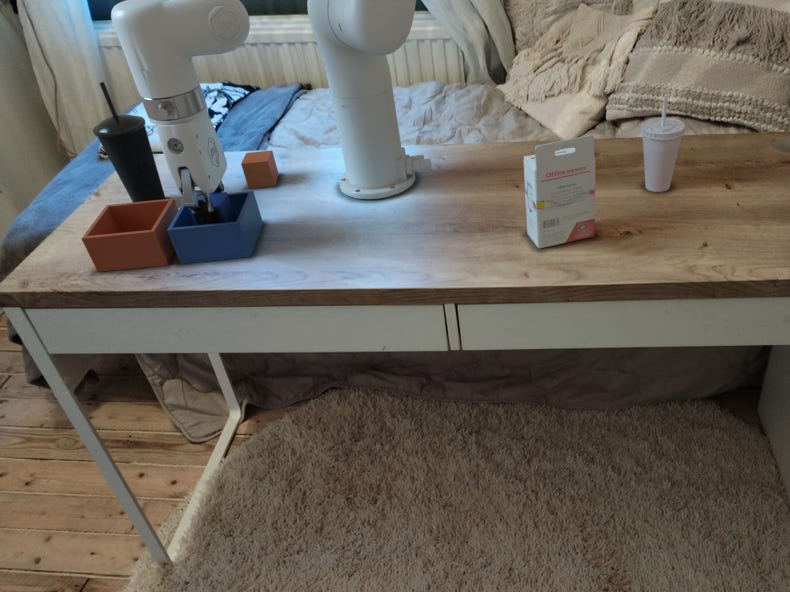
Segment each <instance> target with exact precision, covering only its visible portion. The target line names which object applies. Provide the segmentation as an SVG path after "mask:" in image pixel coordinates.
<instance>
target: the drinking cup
mask: <svg viewBox="0 0 790 592" xmlns="http://www.w3.org/2000/svg"><path fill="white" fill-rule="evenodd" d="M99 86H100V88H101V91H102V94H103V96H104V98H105V100H106V103H107V107H108V108H109V111H110V113H111V116H108V117H107V118H105V119H103V120H102V121H100V123H98V124H96V125H95V126H94V127H93V128H92V133H93V135H94V136H95V137H97V139H98V141H99V143H100V144H101V146H102V148H103V150H104V152H105V153H106V155H107V158H108V159H109V161H110V162H111V164H112V166H113V169H114V170H115V172H116V174H117V175H118V178H119V179H120V181H121V183H122V185H123V187H124V189H125V191H126V192H127V194H128V196H129V198H130V200H131V202H142V201H153V200H163V199H167V198H166V195H165V192H164V188H163V184H162V181H161V177H160V174H159V171H158V167H157V163H156V160H155V156H154V153H153V150H152V146H151V143H150V140H149V136H148V133H147V129H146V120H145V118H144V117H143V116H139V115H133V114H123V113H122V114H118V113H117V111H116V107H115V105H114V103H113V101H112V98H111V96H110V93H109V91H108V88H107V86H106V84H105V81H101V82H99Z"/></svg>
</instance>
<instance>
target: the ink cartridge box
mask: <svg viewBox="0 0 790 592" xmlns="http://www.w3.org/2000/svg"><path fill="white" fill-rule="evenodd" d="M596 162H597V159H596V158H595V137H594V135H592V134H588V135H585V136H580V137H574V138H568V139H563V140H558V141H557V140H556V141H553V142H548V143H544V144H538V145H536V146H535V147H534V154H531V155H525V156H524V155H523V171H524V172H523V175H524V194H525V195H524V196H525V215H526V232H527V233H526V234H527V236H528V237H529V238H530V240H531V241H532V242H533V244H535V246H536V248H538V249H543V248H548V247H552V246H553V247H554V246H557V245H561V244H565V243H571V242H575V241H580V240H584V239H588V238H592V237H594V236H595V223H596V222H595V221H596V220H595V219H596V218H595V217H596V216H595V215H596V213H595V212H596V167H597V165H596Z"/></svg>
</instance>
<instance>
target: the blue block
mask: <svg viewBox="0 0 790 592" xmlns="http://www.w3.org/2000/svg"><path fill="white" fill-rule="evenodd" d="M228 193H229V192H228V191H224V192H223V193H212V194H210V195H211V199H212V203H213V207H214V209H217V211H218V214H219V216H220V219H221V222H222V223H227V222H235V221H236V218H235V215H234V212H233V209H232V206H231V203H230V199H229V196H228ZM196 197H197V198H198V199H199V200H201V199H202V200H203V201H204V202H205V198H204V195H201V196H196ZM189 211H190V214H191V216H192V219H193V222H194V224H195V226H197V225H198V224H197V221H196V218H195V216H194V214H193V213H192V210H191V209H190V208H189Z"/></svg>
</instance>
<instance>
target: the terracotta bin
mask: <svg viewBox="0 0 790 592" xmlns="http://www.w3.org/2000/svg"><path fill="white" fill-rule="evenodd" d="M178 210H179V208H178V206H177V203H176V199H175V198H166V199H163V200H153V201H142V202H133V201H131V202H125V203H124V202H121V203H111V204H106V205H105V207H104V208H103V209H102V210H101V212H100V213H99V214H98V216H97V217H96V219H94V221H93V222H92V224H91V225H90V226H89V227H88V229H87V230H86V232H85V233H84V234H83V235H82V237H81V241H82V244H83V245H84V247H85V249H86V251H87V253H88V255H89V257H90V259H91V261H92V264H93V265H94V268H95V269H96V272H97V273H102V272H111V271H121V270H130V269H142V268H153V267H162V266H169V264H170V262H171V260H172V259H173V257H174V255H175V253H176V251H175V249H174V246H173V244H172V241H171V239H170V236H169V234H168V231H167V230H168V228H169V226H170V224H171V223H172V221H173V219H174V217H175V216H176V214H177V212H178Z"/></svg>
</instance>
